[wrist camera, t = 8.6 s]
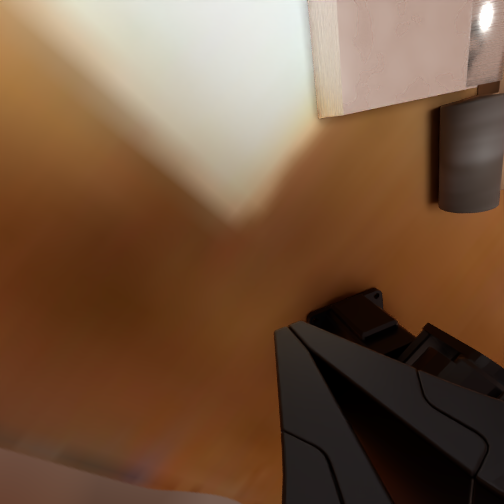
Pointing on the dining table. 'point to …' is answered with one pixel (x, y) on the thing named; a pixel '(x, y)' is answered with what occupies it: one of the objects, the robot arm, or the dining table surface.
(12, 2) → the dining table surface
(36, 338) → the dining table surface
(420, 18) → the pale pink block
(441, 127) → the striped wooden board
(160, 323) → the dining table surface
